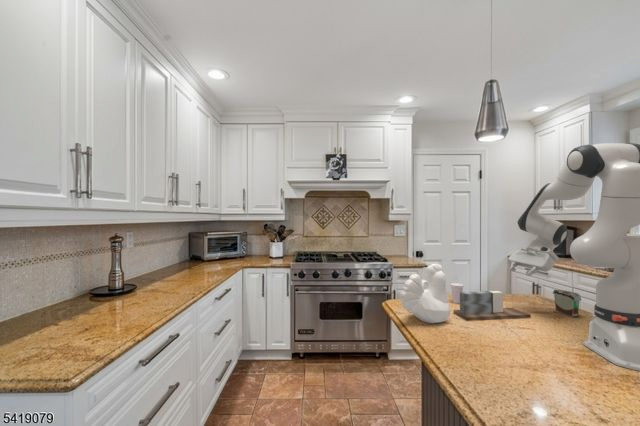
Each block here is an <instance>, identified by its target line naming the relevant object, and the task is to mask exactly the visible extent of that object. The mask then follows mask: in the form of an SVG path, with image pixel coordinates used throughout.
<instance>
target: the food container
mask: <svg viewBox="0 0 640 426" xmlns="http://www.w3.org/2000/svg"><path fill="white" fill-rule="evenodd" d="M552 294H553V296H554V307H555V311H556V312H557V313H560V314H562V315H565V316H568V317H570V318H572V319H573V318H574V319H575V318H578V317H579V312H580V308H579V307H580V302H581V301H582V297H581V294H579V293H577V292H574V291H568V290H563V289H553V291H552Z"/></svg>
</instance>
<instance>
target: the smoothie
mask: <svg viewBox="0 0 640 426" xmlns="http://www.w3.org/2000/svg"><path fill="white" fill-rule="evenodd" d="M463 289H464V284H463V283H458V275H455V282H452V283H451V282H450V290H451V296H452V301H453V303H454V304H459V305H460V292H464V291H463Z"/></svg>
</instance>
